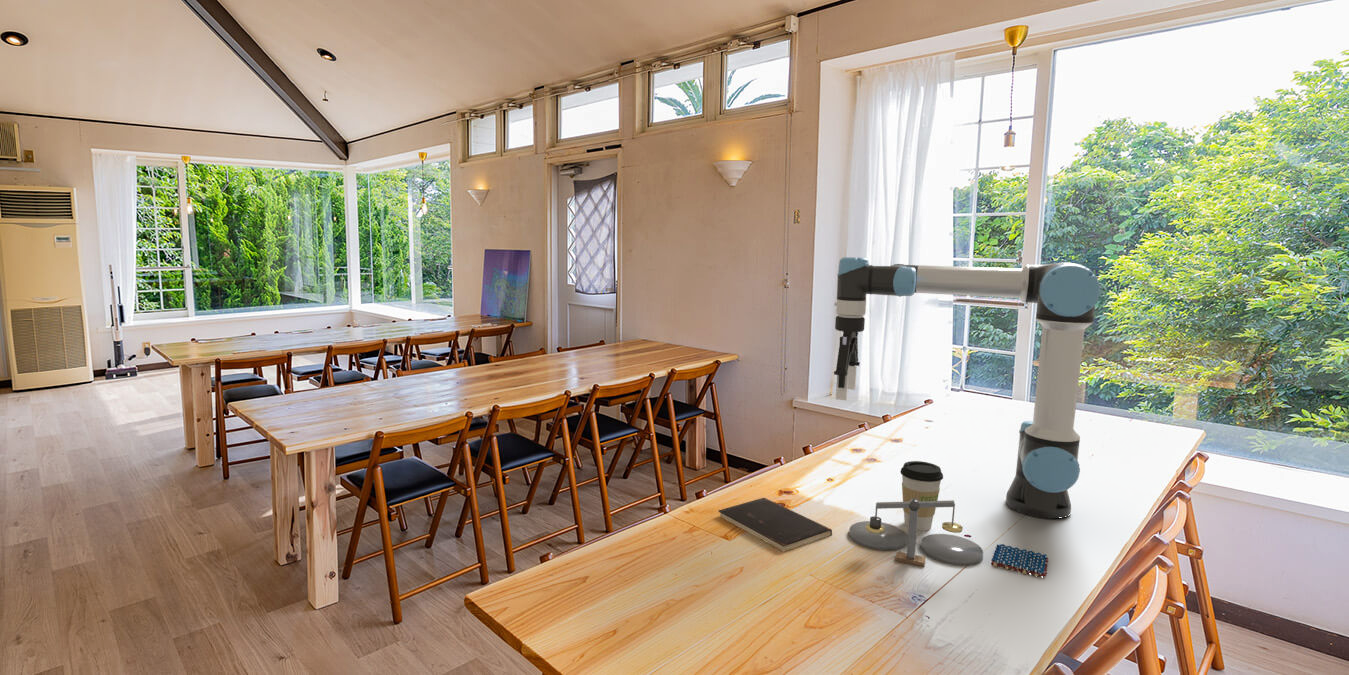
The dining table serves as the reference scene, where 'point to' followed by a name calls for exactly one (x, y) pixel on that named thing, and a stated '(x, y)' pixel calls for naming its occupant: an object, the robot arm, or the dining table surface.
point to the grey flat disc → (951, 549)
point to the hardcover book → (775, 523)
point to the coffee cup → (921, 490)
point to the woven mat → (1020, 560)
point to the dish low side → (878, 536)
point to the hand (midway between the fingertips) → (845, 394)
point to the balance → (912, 526)
